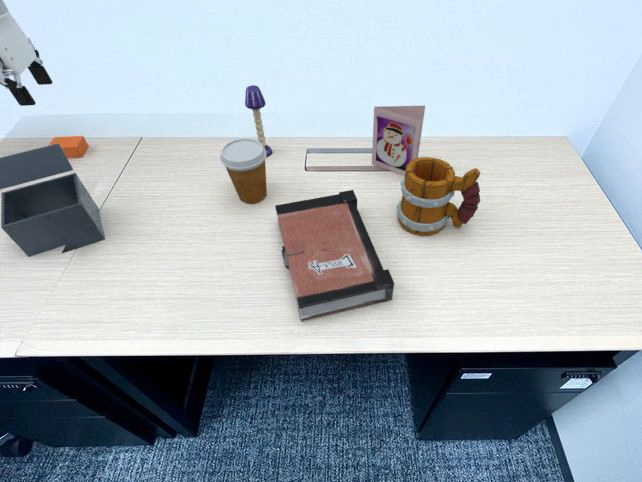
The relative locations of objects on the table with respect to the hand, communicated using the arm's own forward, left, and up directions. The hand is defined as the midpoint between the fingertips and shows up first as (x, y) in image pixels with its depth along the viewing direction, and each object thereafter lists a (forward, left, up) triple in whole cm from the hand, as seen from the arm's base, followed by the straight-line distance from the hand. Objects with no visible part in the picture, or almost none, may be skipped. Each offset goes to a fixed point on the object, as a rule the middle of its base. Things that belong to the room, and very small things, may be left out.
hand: (37, 94), depth 90 cm
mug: (+86, -35, -15) cm, 94 cm away
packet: (0, 0, -15) cm, 15 cm away
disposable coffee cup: (+47, -22, -15) cm, 54 cm away
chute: (+9, -31, -15) cm, 35 cm away
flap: (+7, -25, -2) cm, 26 cm away
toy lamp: (+49, -5, -15) cm, 51 cm away
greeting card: (+82, -14, -15) cm, 84 cm away
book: (+63, -43, -15) cm, 77 cm away
